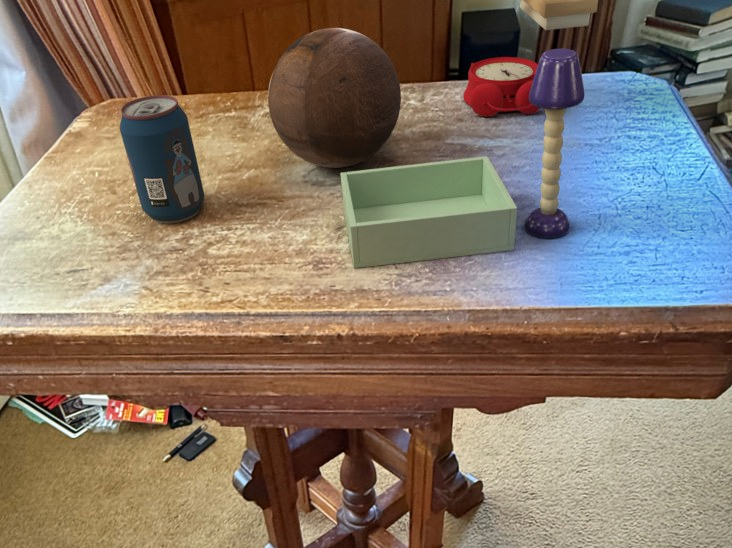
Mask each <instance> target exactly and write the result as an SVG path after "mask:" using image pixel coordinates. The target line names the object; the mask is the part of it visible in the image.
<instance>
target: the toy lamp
mask: <svg viewBox="0 0 732 548" xmlns="http://www.w3.org/2000/svg"><path fill="white" fill-rule="evenodd" d="M537 64H538V67H537V70H536V73H535V76H534V80H533V83H532V86H531V89H530V93H529V101H530V103H531V104H532V105H534V106H536V107H538V108H541V109H543V110H544V113H545V117H546V119H545V121H544V124H543V131H544V134H545V135H544V137H543V141H542V147H543V150H544V151H543V153H542V156H541V163H542V166H543V167H542V169H541V172H540V177H541V181H542V182H541V185H540V195H541V196H540V197H541V198H540V202H539V207H538V208H535V209H534V210H532V211H531V212H530V213H529V214H528V216H527V217H526V220H525V222H524V230H525V231H526V233H527V234H529V235H531V236H533V237H536V238H541V239H556V238H560V237H563V236H564V235H566V234H567V233H568V232H569V231H570V227H571V226H570V220H569V217H568V216H567V214H566V213H565V212H564V211H563V210H562V209H560V208H559V206H560V205H559V203H560V202H559V198H558V196H559V194H560V182H559V181H560V180H561V175H562V171H561V168H560V166H561V164H562V160H563V156H562V155H563V154H562V151H561V150H563V149H562V148H563V145H564V138H563V133H564V131H565V120H564V117H565V116H566V111H567V109H570V108H573V107H577V106H578V105H580V104H581V103H583V101H584V100H585V86H584V80H583V74H582V68H581V63H580V58H579V55H578V53H577V51H575V50H574V49H570V48H553V49H549V50H546V51H544V52H543V53H542V54H541V55H540V58H539V61H538V63H537Z"/></svg>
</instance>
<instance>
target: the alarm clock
mask: <svg viewBox="0 0 732 548" xmlns="http://www.w3.org/2000/svg"><path fill="white" fill-rule="evenodd" d="M538 64H539V63H537V62H535V61H533V60H530V59H527V58H524V57H523V58H522V57H513V56H500V57H491V58H486V59H483V60H480V61H477V62H475V63H474V62H471V64H470V67H469V70H468V75H467V76H468V82H467V85H466V88H465V90H464V91H463V94H462V95H463V96H462V97H463V102H465V104H467V105H468V106H470V107H471V109H472V111H473V113H475V114H476V115H477V116H480V117H483V118H489V117H490V118H491V117H493V116H495V115H497V114H498V113H499V112H500V113H501V112H503V113H505V112H515V111H518V112H520V113H522V114H524V115H531V114H535V113H537V112H539V111H540V110H541V109H542V108H538V107H536V106H534V105H532V104H531V103H530V101H529V93H530V89H531V86H532V83H533V80H534V76H535V73H536V70H537V67H538Z"/></svg>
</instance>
